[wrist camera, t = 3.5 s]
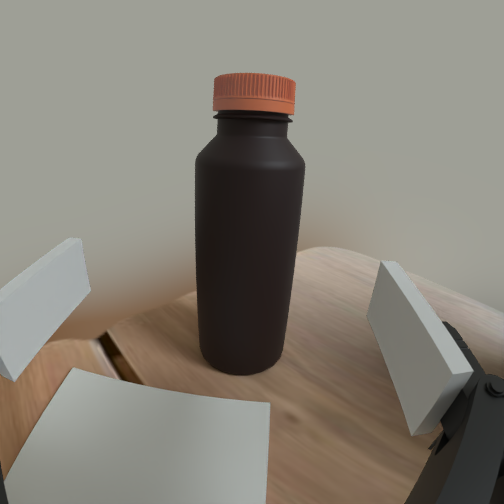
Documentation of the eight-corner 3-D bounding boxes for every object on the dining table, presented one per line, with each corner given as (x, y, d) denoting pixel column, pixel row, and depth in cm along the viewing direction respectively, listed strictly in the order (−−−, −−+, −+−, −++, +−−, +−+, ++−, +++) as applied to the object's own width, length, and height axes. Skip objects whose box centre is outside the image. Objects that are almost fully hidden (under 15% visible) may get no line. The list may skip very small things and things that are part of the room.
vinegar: (188, 334, 25) (184, 81, 17) (256, 316, 29) (271, 89, 21) (221, 388, 20) (228, 64, 12) (298, 359, 23) (335, 84, 15)
